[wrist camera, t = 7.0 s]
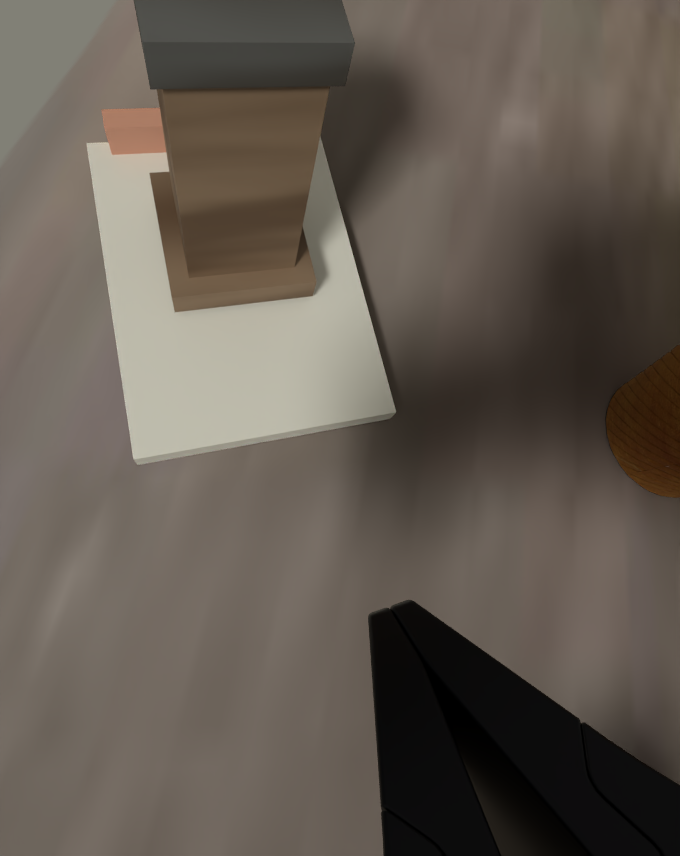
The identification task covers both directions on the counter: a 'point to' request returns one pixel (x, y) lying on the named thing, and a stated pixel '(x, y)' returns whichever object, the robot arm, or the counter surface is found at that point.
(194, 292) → the brown wooden pedestal
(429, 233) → the counter surface
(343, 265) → the thin white base plate
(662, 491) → the disposable coffee cup
